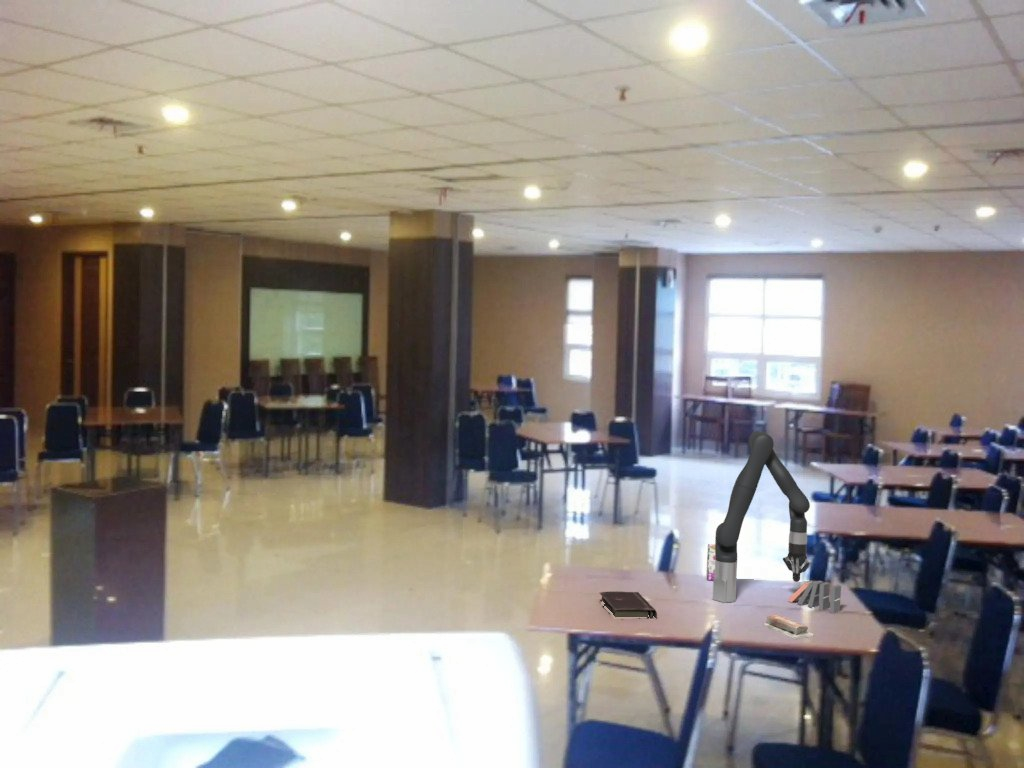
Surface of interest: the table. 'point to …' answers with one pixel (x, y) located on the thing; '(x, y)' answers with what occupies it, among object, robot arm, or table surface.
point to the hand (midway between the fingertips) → (796, 581)
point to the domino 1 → (798, 592)
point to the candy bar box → (711, 562)
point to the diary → (627, 604)
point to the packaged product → (787, 626)
